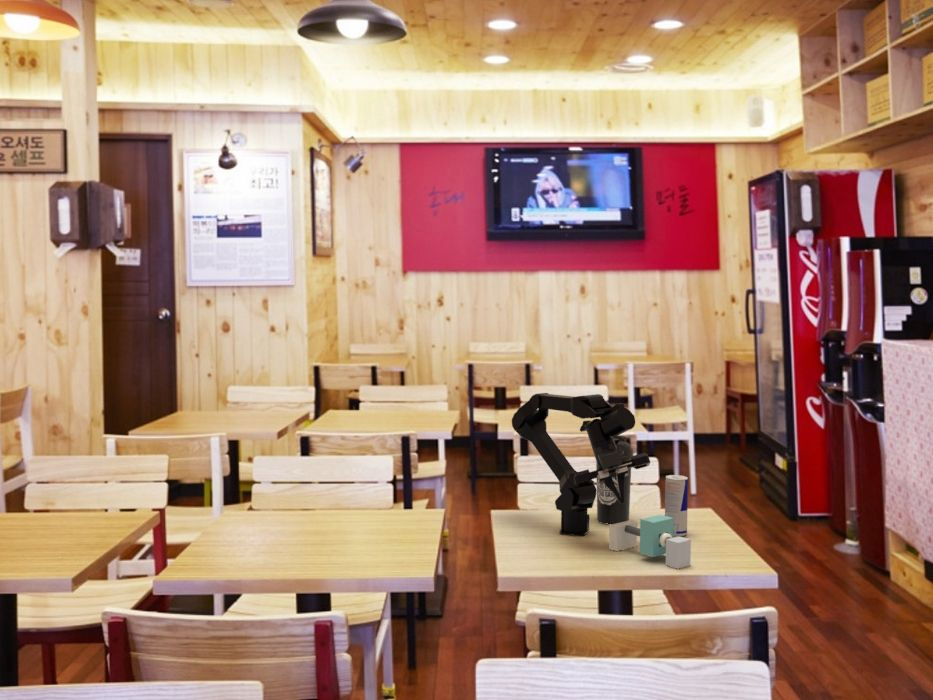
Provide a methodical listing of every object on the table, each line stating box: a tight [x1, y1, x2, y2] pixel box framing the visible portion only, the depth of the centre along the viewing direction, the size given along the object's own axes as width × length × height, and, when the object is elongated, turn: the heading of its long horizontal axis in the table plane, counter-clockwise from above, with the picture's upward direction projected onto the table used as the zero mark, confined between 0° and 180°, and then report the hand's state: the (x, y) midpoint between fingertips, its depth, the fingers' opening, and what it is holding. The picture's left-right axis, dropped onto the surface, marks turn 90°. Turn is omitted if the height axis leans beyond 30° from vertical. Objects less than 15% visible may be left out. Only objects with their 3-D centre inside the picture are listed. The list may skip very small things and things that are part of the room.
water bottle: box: [595, 435, 634, 525], centre depth 242 cm, size 10×10×23 cm
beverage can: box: [664, 474, 689, 537], centre depth 230 cm, size 6×6×15 cm
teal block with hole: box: [639, 514, 674, 558], centre depth 209 cm, size 4×7×8 cm, turn 127°
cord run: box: [608, 519, 692, 570], centre depth 211 cm, size 20×7×7 cm, turn 37°
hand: (622, 503), depth 218 cm, fingers closed
